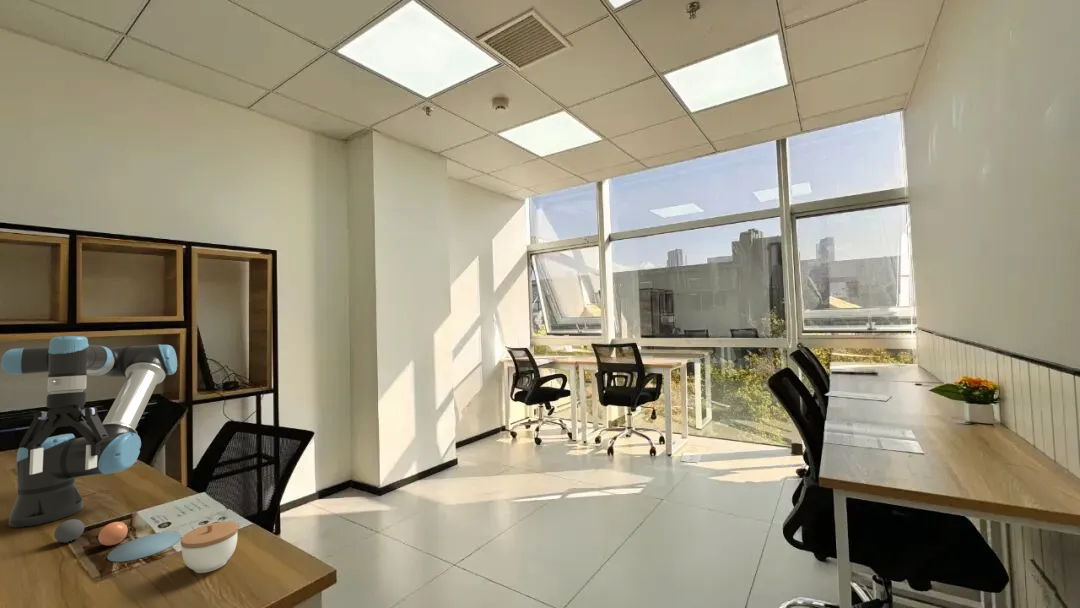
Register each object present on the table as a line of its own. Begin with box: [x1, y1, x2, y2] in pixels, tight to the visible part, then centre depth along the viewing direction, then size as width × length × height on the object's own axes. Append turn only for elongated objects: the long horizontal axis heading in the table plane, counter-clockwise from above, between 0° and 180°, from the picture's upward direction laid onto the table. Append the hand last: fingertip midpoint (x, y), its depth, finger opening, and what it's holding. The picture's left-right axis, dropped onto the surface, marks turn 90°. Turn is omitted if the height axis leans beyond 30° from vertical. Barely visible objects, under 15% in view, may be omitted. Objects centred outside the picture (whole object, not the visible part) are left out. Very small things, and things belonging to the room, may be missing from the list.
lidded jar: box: [180, 521, 239, 574], centre depth 104 cm, size 11×11×9 cm
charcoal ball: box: [53, 518, 85, 543], centre depth 119 cm, size 6×6×6 cm
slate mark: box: [106, 531, 182, 563], centre depth 114 cm, size 14×14×1 cm
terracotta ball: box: [97, 521, 129, 547], centre depth 116 cm, size 6×6×6 cm
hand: (63, 471), depth 123 cm, fingers open, 13 cm apart
